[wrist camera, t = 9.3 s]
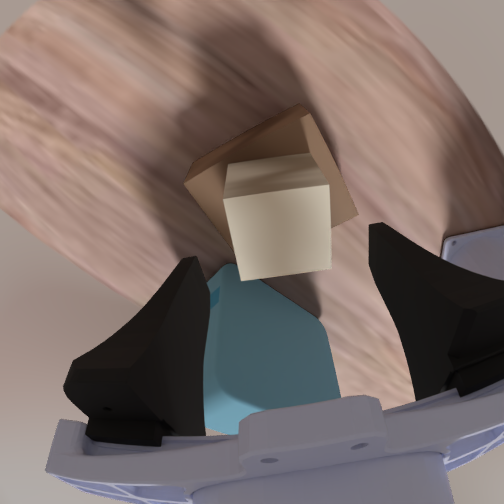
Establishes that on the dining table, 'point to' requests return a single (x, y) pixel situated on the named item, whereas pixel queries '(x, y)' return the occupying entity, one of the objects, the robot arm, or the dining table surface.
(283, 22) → the dining table surface
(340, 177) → the walnut base block
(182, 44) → the dining table surface
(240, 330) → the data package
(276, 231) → the birch cube
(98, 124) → the dining table surface
